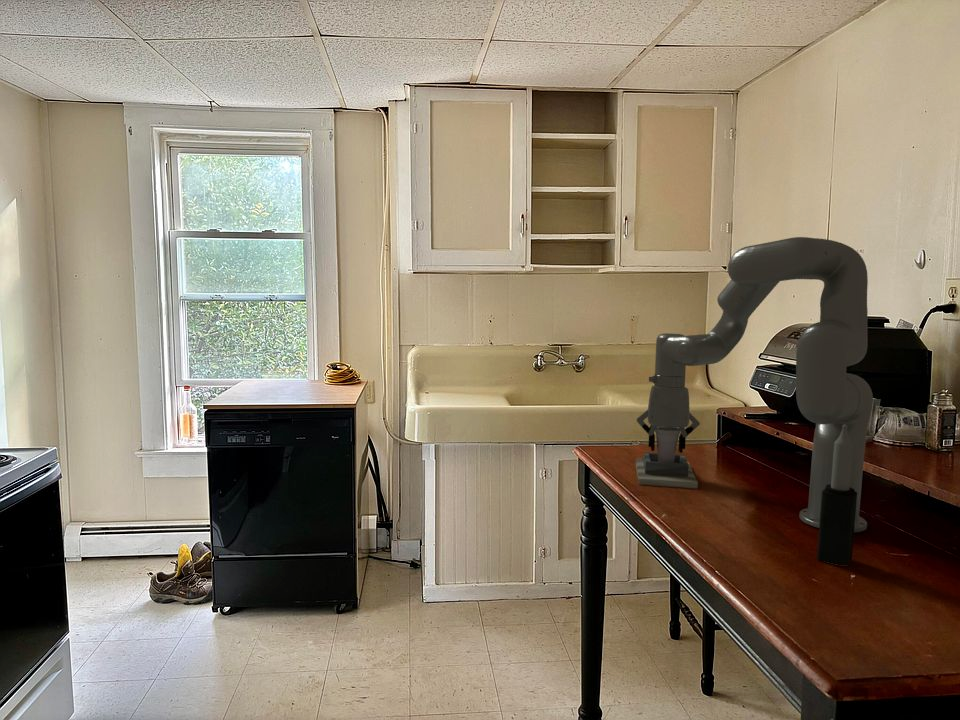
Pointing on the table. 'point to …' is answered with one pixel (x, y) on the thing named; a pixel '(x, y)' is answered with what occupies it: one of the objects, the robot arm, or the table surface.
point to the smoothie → (667, 443)
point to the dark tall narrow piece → (838, 507)
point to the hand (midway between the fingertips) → (666, 450)
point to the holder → (665, 472)
